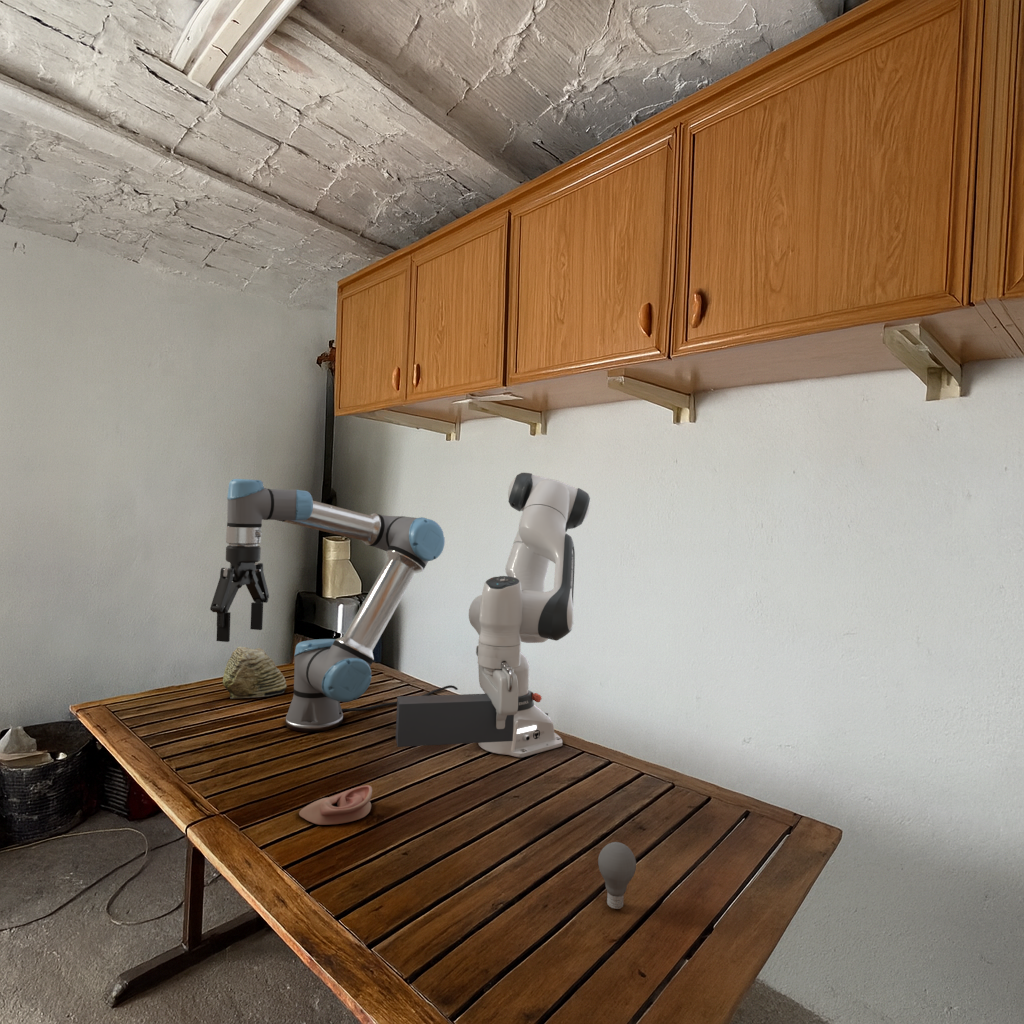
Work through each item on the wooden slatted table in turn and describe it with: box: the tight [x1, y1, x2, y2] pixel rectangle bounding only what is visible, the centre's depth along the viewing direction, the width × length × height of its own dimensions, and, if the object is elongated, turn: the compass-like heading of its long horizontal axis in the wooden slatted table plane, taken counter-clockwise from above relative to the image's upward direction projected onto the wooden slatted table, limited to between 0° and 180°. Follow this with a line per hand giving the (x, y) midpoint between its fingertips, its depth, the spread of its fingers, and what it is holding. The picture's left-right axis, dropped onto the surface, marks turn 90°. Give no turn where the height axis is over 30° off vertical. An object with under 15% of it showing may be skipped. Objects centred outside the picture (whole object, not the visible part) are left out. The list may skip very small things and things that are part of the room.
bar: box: [395, 693, 514, 748], centre depth 129 cm, size 23×5×8 cm, turn 105°
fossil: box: [222, 646, 288, 699], centre depth 198 cm, size 9×18×15 cm, turn 132°
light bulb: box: [597, 841, 637, 910], centre depth 101 cm, size 6×6×10 cm
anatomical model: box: [298, 784, 373, 826], centre depth 127 cm, size 13×4×12 cm
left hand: (240, 635), depth 149 cm, fingers open, 13 cm apart
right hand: (496, 722), depth 131 cm, fingers closed on bar, 5 cm apart
